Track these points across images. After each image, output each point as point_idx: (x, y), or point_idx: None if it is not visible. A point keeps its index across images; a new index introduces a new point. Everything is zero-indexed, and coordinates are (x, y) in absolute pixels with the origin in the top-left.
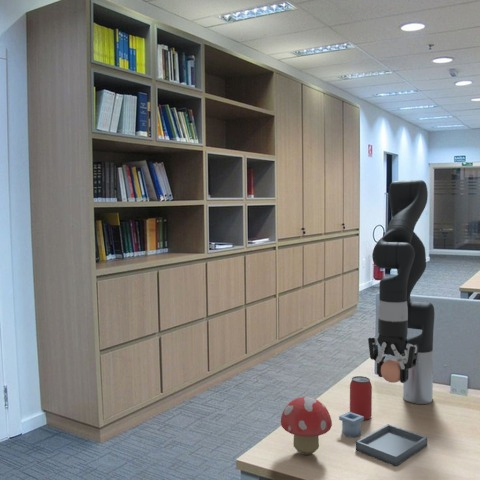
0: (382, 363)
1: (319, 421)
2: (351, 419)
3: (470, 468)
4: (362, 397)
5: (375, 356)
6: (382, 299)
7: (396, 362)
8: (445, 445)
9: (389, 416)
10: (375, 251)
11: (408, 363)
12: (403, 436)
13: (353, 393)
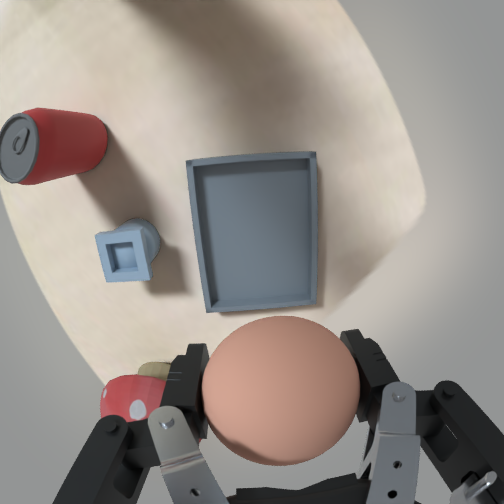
0: (200, 424)
1: (200, 440)
2: (136, 273)
3: (416, 184)
4: (67, 165)
5: (149, 465)
6: None
7: (330, 446)
8: (336, 113)
9: (130, 74)
10: None
11: (428, 443)
12: (247, 166)
13: (42, 182)
